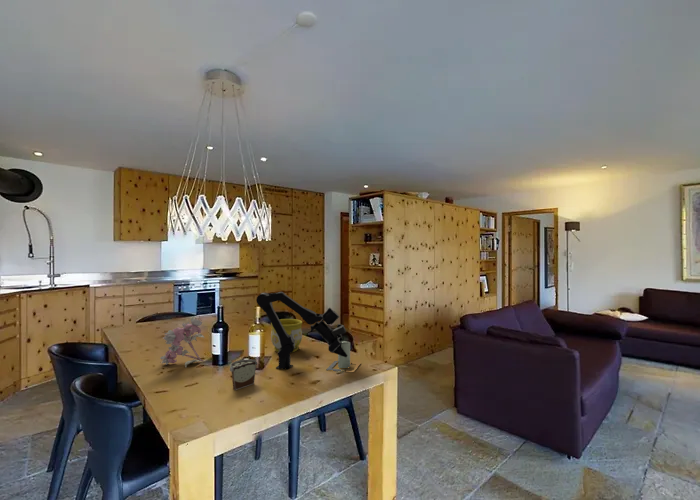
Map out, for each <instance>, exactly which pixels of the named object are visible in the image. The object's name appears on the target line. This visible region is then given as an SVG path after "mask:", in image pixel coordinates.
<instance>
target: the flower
mask: <svg viewBox="0 0 700 500" xmlns="http://www.w3.org/2000/svg"><path fill="white" fill-rule="evenodd" d="M200 318H201V316H200V315H199V316H198V318H196V317H195V318H194V317H192V318H191V319H190V321H188V322H186V323H185V322H183V323H182V327H179V326H178V327H175V328H173V329H172V330H171V329H169V330H168V331H167V332H164V337H163V336H162V338H163V340H165V344H166V345H170V346H168V350H167V351H166V352H165V355H162V356H160V358H159V359H160V360H161V361H160V362H159V363H160V364H161V365H162V364H165V366H167V365H169V364H176V362H177V359H176V358H177V357H178V356H182V357H188V358H191V360H187V361H185V362H184V366H185V368H187V366H188V365H190V364H193V363H195V362H196V363H197V362H204V360H203V359H201V357H200V355H199V354H198V352H197V350H196V349H195V347H194V345H193V343H192V342H193V341H196V342H198V341H197V340H198V339H197V338H203V339H205V336H204V335H203V334H202V330H201V327H200V326H201V325H202V323H203V322H202V320H203V319H200ZM194 333H196V334H194ZM182 341H184V342H185V343H187V344H188V346H189V347H190V348H191V349H192V352H194V355H195V356H193V355H191V354H190V352H189V351H188V350H187V349H185V346H182V344H181V342H182Z"/></svg>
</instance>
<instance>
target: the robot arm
mask: <svg viewBox="0 0 700 500" xmlns="http://www.w3.org/2000/svg"><path fill="white" fill-rule="evenodd" d="M255 300H256V304H257V305H258V306H259V307H260V308H261V310H262V311H263V312H264V313H265V314H266V316H267V318H268V319H269V321H270V324H271V323H272V325H273V327H274V329H275V331H276V333H277V335H278V336H279V339H280V344H281V348H280V349H279V352H277V357H278V366H276V367H275V369H276V370H283V371H284V370H285V371H288V370H290V369H291V368H293V367H294V365H293V364H291V354H292V353H294V352H293V350H294V347H295V340H294V339H293V336H292V334H290V335H288V334H287V333H286V331H285V329H284V327H283V325H282V324H281V322H280V319H279V316H278V314H277V313H276V311H275V309H274V305H273V303H275V302H281V303H282V304H284V305H285V306H286V307H288V308H289V309H291V310H292V311H294V312H295V313H297V314H298V315H299V316H300V317H301V319H302V320H303V321H304V322H305V323H306V324H307V325H310V332H311V333H313V331H316V332H317V334H319V336H321V339H322V340H324V341H326V342H327V345H328V351H329V352H330V353H332V354H336V355H337V356H338V355H341V356H344V357H347V354H346V353H345V351H344V350H343V348H342V347H341V341H343V334H346V333H347V330H346V328H345V325H344V324H341V323H338V324H337V325H336V327H335V328H334V329H333V328H332V327H329V325H331V326H332V325H333V324H334V323H335V322H336V321H337V320H338V319H339V318H340V316H339V314H338V313H337V312H336V311H335V310H333V309H332V308H331V307H328V308H327V310H326V311H325V312H324V313H316V312H315V311H313V310H312V309H309V308H307V307H304V306H303V305H301V304H300V303H298V302H297V301H296V300H294V299H293V298H291V297H290V296H288V295H287V294H286V293H285V292H283V291H279V292H271V293H269V292H261V293H260V294H259V295H257V297H256V299H255ZM272 325H271V326H272ZM291 352H292V353H291Z"/></svg>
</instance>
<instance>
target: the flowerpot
mask: <svg viewBox="0 0 700 500" xmlns="http://www.w3.org/2000/svg"><path fill="white" fill-rule="evenodd" d="M279 320H280V322H281V324H282V325H283V327H284V329H285V331H286V333H287V334H288V335H290V334H292V336H293V339H294V340H295V347H294V350H293V352H291V353H290V354H292V353H295V352H298V350H299V349H300V345H301V342H302V339H303V330H302V327H303V326H302V325H303V321H302V320H300V319H297V318H296V319H295V318H281V319H279ZM270 326H271V331H270V340H271V344H272V345H273V350H275V352H276V353H278V352H279V349H280V348H281V344H280V339H279V336H278V335H277V333H276V331H275V329H274V327H273V325H272V323H271V322H270Z"/></svg>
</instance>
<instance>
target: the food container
mask: <svg viewBox="0 0 700 500" xmlns="http://www.w3.org/2000/svg"><path fill="white" fill-rule="evenodd" d="M257 362H258V361H257V360H256V359H251V358H250V359H249V358H248V359H239V360H235V361H233V362H231V363H230V366H229V371H230V372H231V379H232V389H233V390H234V391H237V390H240V389H243V388H246V387H248V386H252V385H254V384H255V380H256V366H258V363H257Z"/></svg>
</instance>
